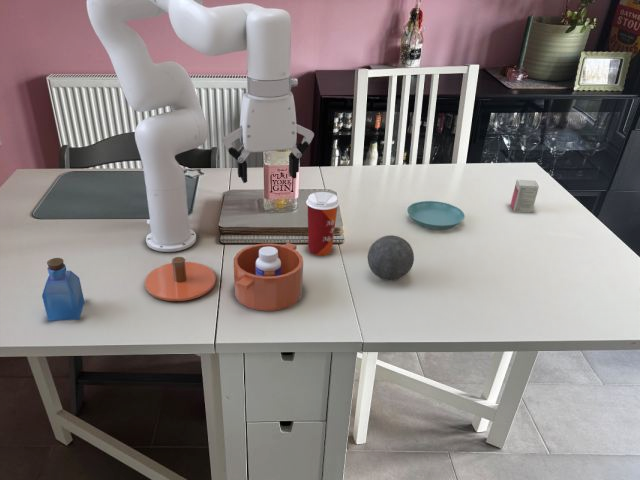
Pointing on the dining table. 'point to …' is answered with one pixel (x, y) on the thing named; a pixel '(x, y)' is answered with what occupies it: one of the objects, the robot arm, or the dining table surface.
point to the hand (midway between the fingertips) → (268, 178)
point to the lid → (180, 280)
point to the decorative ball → (390, 257)
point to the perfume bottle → (62, 293)
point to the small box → (524, 195)
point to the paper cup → (321, 222)
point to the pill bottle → (268, 262)
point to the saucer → (435, 215)
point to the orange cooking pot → (268, 279)
